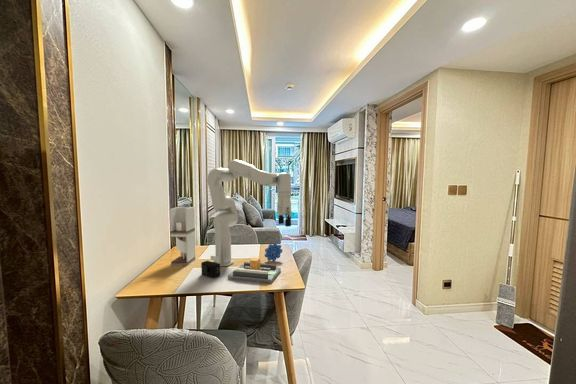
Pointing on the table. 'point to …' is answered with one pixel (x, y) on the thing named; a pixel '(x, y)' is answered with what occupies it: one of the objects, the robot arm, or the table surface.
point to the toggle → (255, 264)
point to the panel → (271, 276)
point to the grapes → (273, 252)
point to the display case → (183, 233)
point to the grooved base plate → (254, 271)
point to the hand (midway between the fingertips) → (284, 225)
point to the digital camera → (210, 269)
